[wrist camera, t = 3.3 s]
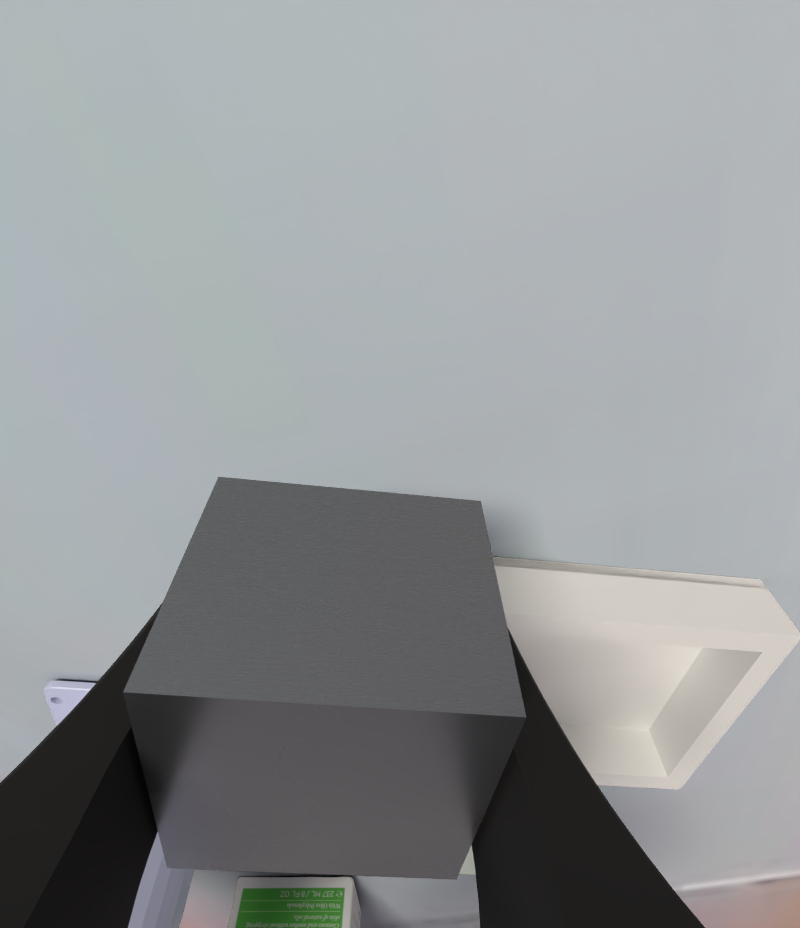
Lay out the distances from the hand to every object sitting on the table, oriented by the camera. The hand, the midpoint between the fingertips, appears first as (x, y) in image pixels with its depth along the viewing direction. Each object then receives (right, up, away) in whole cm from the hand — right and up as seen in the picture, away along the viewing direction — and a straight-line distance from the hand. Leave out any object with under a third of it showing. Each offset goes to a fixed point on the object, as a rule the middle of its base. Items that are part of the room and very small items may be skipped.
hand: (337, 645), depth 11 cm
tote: (+10, -5, +14) cm, 18 cm away
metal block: (0, +1, +1) cm, 2 cm away
